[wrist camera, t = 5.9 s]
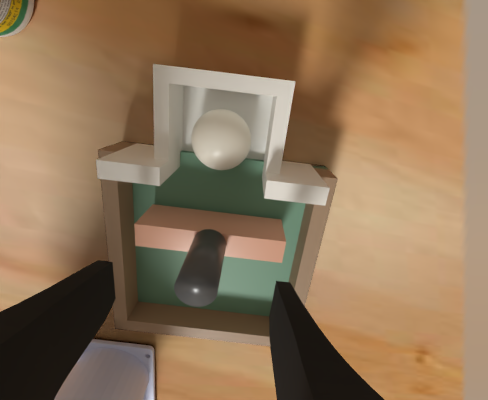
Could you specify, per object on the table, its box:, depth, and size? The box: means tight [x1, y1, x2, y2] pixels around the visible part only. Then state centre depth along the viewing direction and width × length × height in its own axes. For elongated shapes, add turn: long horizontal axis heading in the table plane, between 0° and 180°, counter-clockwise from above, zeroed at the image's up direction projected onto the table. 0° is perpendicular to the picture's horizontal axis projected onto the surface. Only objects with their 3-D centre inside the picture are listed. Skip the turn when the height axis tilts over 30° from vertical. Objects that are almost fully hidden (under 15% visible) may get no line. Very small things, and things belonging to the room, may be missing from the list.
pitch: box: [96, 64, 337, 346], centre depth 17 cm, size 19×14×5 cm
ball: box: [191, 109, 251, 170], centre depth 15 cm, size 4×4×4 cm
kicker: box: [134, 204, 286, 307], centre depth 15 cm, size 2×9×7 cm, turn 83°
